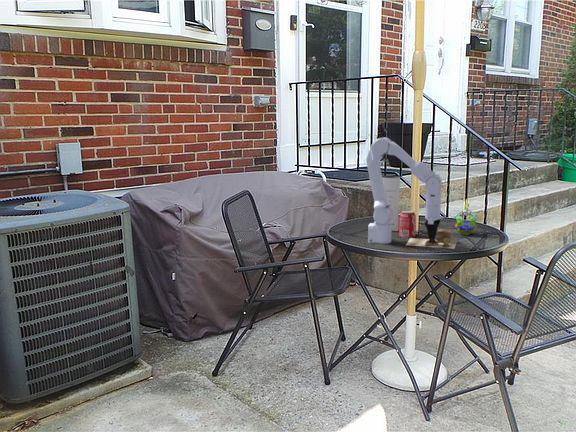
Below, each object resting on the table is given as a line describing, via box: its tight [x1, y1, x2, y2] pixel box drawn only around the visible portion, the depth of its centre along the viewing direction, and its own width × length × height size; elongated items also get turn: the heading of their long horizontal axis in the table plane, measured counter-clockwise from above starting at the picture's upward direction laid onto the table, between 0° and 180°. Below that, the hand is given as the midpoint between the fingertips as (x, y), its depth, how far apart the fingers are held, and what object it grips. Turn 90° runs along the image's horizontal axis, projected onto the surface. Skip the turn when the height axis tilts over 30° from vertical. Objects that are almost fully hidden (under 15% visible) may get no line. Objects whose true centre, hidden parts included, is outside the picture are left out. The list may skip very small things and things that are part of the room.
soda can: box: [398, 209, 417, 238], centre depth 226 cm, size 7×7×12 cm
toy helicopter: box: [454, 198, 478, 236], centre depth 229 cm, size 25×9×15 cm, turn 162°
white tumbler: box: [382, 175, 401, 232], centre depth 239 cm, size 11×10×26 cm
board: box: [405, 237, 458, 250], centre depth 212 cm, size 19×14×4 cm
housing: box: [436, 228, 452, 243], centre depth 214 cm, size 5×5×5 cm
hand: (432, 238), depth 209 cm, fingers closed on peg, 2 cm apart
